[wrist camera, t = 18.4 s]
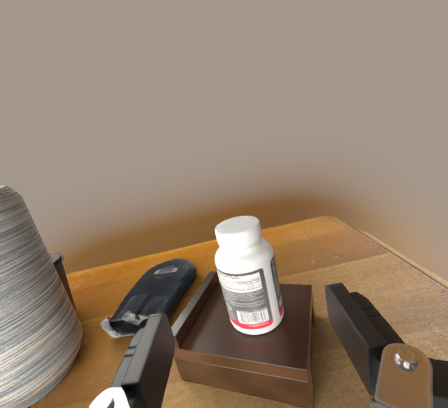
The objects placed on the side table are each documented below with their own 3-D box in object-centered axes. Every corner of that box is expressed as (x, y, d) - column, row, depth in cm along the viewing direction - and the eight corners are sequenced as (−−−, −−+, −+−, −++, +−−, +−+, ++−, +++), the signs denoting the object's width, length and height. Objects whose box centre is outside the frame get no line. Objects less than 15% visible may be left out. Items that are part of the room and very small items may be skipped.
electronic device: (179, 343, 30) (203, 263, 43) (158, 312, 28) (190, 237, 41) (117, 352, 32) (158, 273, 46) (94, 324, 30) (144, 250, 44)
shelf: (315, 314, 28) (309, 272, 26) (313, 409, 19) (304, 354, 18) (219, 307, 33) (209, 271, 31) (181, 380, 24) (166, 335, 22)
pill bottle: (252, 291, 28) (234, 210, 25) (295, 307, 24) (279, 214, 21) (219, 322, 24) (194, 233, 22) (263, 347, 21) (240, 242, 18)
